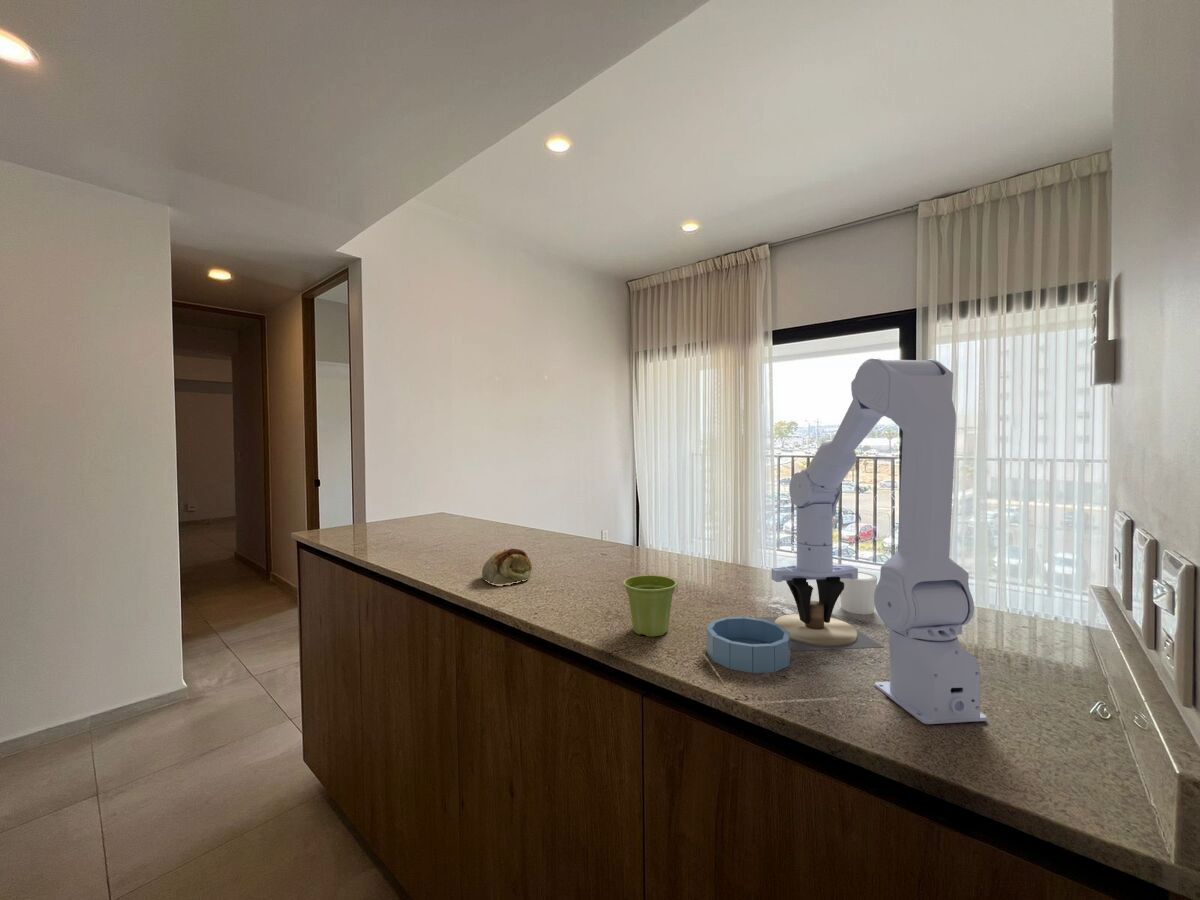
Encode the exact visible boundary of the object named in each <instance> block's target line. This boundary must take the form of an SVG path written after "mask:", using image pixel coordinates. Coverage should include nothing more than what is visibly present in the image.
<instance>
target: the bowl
mask: <svg viewBox="0 0 1200 900" xmlns="http://www.w3.org/2000/svg"><path fill="white" fill-rule="evenodd" d="M757 618H758V617H750V616H726V617H721V618H718V619H715V620H712V621H710V622H709V624H708V625H707V627H706V653H707V655H708V656H709V658H710V659H711V661H713V662H714V663H716V664H718V665H720V666H722V667H725V668H727V669H730V670H735V671H740V672H745V673H751V674H761V673H762V674H763V673H765V674H766V673H776V672H778V671H780V670H782V669H785V668H788V667H789V666H790V661H791V649H790V632H789V631H787V630H786V629H785V628H784V627H782V626H781V625H779V624H776V623H773V622H770V621H767V620H763V619H757Z"/></svg>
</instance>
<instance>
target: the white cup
mask: <svg viewBox="0 0 1200 900" xmlns="http://www.w3.org/2000/svg"><path fill="white" fill-rule="evenodd" d="M840 581H841V582H843V583H844V590H843V591H842V592H841V594H840V595H839V597H840V607H841V609H842V610H843V611H844V612H847V613H850V614H854V615H855V614H856V615H872V614H874V613H875V604H874V593H875V589H876V586H877V584H878V576H877V575H874V574H872V573H868V572H863V571H858V579H850V578H848V579H840Z"/></svg>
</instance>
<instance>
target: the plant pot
mask: <svg viewBox="0 0 1200 900" xmlns="http://www.w3.org/2000/svg"><path fill="white" fill-rule="evenodd" d="M622 583H623V586H624V587H625V591H626V593H627V596H628V601H629V609H630V615H631V616H630V617H631V623H632V629H633V630H632V631H633V632H634V633H636V634H637V635H645V636H646V637H652V638H653V637H658V636H659V637H660V636H663V635H665V634H666V633H668V632H669V629H670V628H669V627H670V616H671V610H672V609H671V608H672V601H673V595H674V593H675V589H676V587H677V585H678V582H677V580H675V578H674V579H673V577H668V576H664V575H656V574H654V575H653V574H652V575H651V574H648V575H647V574H645V575H644V574H643V575H635V576H630V577H627V578H625V579H624V580H623V582H622Z"/></svg>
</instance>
